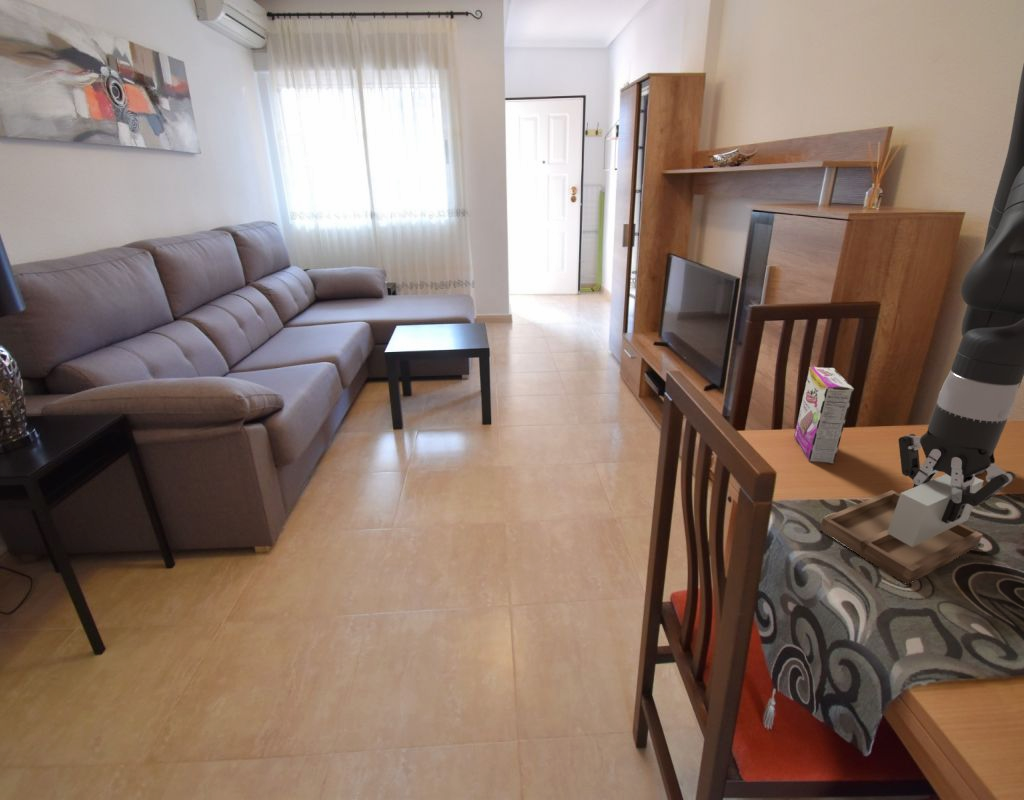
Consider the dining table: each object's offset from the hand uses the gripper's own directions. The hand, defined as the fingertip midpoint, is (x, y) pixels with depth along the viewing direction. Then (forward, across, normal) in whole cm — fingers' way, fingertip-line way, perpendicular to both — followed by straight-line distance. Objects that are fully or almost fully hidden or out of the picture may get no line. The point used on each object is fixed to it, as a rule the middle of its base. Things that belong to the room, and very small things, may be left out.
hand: (931, 512), depth 77 cm
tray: (+7, +3, 0) cm, 8 cm away
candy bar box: (+7, +28, -14) cm, 32 cm away
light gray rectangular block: (+3, 0, 0) cm, 3 cm away
